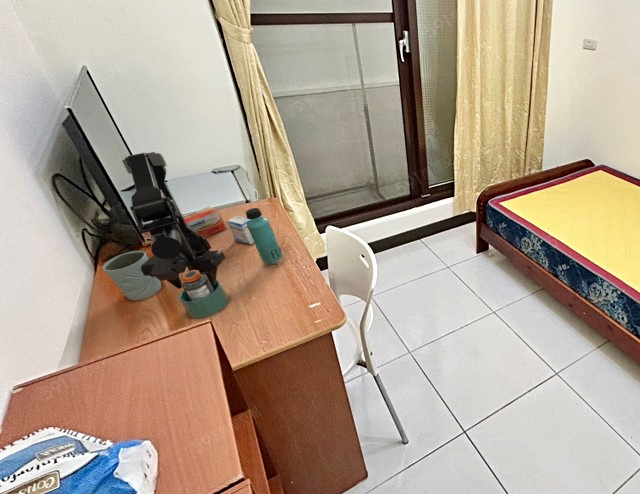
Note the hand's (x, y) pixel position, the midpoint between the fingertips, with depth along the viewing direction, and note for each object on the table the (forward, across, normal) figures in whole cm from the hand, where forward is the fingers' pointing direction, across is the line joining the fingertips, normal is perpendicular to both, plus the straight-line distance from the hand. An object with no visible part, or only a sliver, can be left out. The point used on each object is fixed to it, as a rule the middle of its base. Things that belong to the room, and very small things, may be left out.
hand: (197, 286), depth 113 cm
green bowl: (+7, 0, 0) cm, 7 cm away
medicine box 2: (+8, -4, +36) cm, 37 cm away
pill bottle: (+7, 0, 0) cm, 7 cm away
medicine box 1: (+8, -24, +43) cm, 50 cm away
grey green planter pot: (+8, -24, +10) cm, 27 cm away
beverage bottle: (+8, +11, +20) cm, 24 cm away
